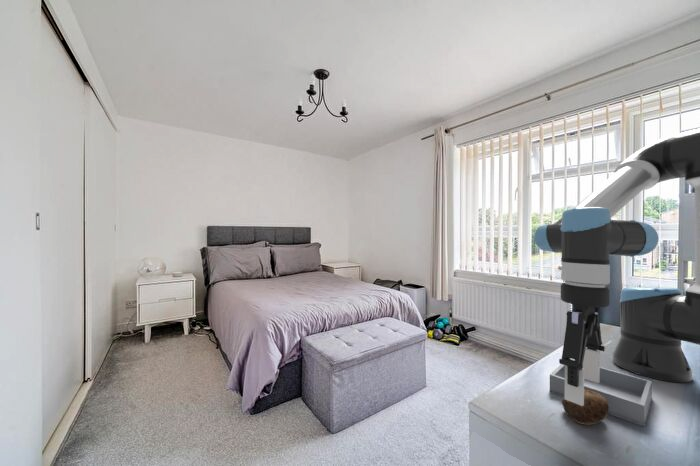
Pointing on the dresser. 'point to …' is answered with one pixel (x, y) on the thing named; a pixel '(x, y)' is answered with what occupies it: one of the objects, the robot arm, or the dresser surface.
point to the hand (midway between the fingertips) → (583, 390)
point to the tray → (614, 392)
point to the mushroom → (587, 408)
